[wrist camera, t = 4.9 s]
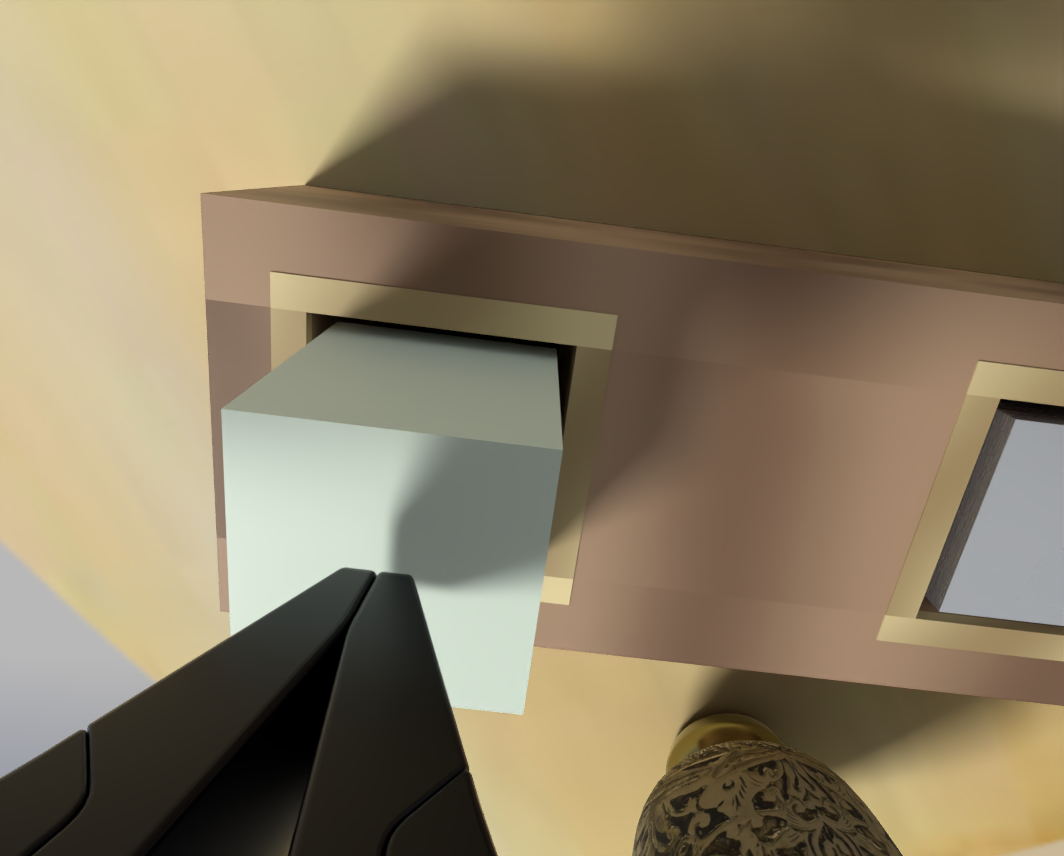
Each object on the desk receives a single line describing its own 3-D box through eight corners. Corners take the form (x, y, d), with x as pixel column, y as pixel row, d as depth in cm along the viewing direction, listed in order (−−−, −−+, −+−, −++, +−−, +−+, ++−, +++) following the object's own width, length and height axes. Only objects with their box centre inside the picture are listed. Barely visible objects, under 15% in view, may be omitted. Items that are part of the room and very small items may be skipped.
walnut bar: (1154, 295, 16) (1405, 348, 11) (1027, 583, 19) (1185, 720, 14) (303, 185, 16) (199, 193, 11) (302, 498, 18) (219, 611, 14)
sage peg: (556, 348, 13) (562, 450, 8) (530, 538, 14) (522, 714, 10) (337, 321, 12) (221, 409, 8) (333, 516, 14) (232, 682, 9)
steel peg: (1049, 370, 16) (1238, 446, 12) (990, 517, 18) (1138, 634, 13) (887, 349, 16) (1016, 419, 12) (839, 499, 18) (938, 611, 13)
